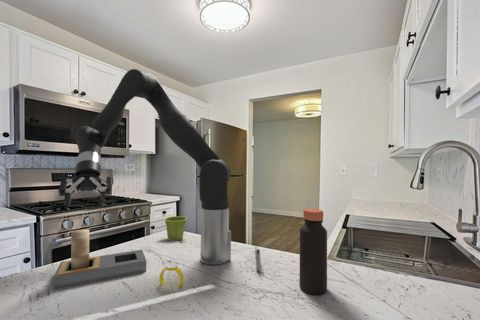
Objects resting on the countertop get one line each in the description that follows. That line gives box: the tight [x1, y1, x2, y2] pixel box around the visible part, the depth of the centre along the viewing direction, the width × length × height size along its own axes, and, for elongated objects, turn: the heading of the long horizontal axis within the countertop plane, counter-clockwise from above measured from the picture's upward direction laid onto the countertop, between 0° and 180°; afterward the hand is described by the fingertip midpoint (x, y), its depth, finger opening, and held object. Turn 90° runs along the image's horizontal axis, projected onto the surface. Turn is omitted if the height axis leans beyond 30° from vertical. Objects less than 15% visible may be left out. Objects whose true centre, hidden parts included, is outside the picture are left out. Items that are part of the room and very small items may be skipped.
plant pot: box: [163, 216, 188, 241], centre depth 99 cm, size 9×9×9 cm
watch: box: [159, 263, 184, 288], centre depth 59 cm, size 6×3×6 cm, turn 78°
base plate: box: [52, 249, 147, 291], centre depth 66 cm, size 21×10×4 cm, turn 119°
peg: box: [70, 228, 90, 270], centre depth 63 cm, size 4×4×12 cm
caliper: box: [254, 245, 261, 272], centre depth 79 cm, size 20×1×6 cm, turn 178°
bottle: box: [298, 208, 328, 296], centre depth 60 cm, size 7×7×20 cm
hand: (85, 204), depth 73 cm, fingers open, 8 cm apart
